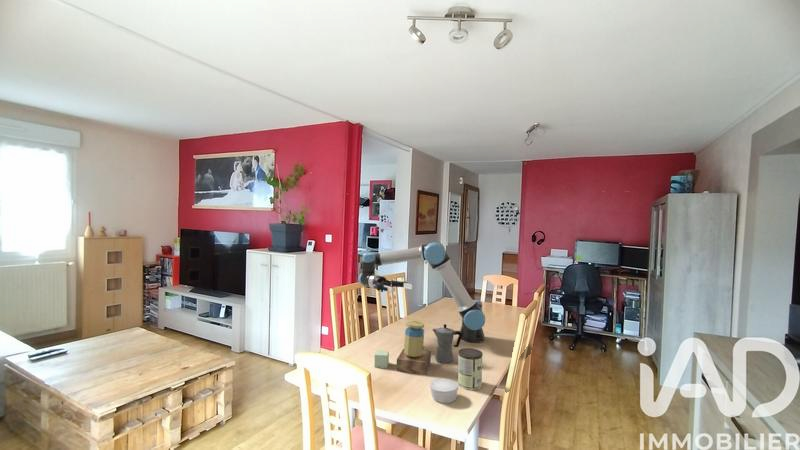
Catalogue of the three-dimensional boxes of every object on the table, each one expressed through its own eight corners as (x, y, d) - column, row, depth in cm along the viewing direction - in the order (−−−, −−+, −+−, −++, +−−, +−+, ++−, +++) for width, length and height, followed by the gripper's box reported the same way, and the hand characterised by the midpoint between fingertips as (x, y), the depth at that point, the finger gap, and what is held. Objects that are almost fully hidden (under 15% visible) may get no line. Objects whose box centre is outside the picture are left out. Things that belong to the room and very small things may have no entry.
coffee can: (461, 377, 156) (461, 346, 156) (484, 382, 152) (484, 350, 152) (454, 387, 147) (455, 354, 147) (479, 392, 143) (479, 358, 142)
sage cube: (388, 362, 171) (388, 350, 170) (386, 368, 165) (387, 355, 165) (376, 362, 171) (376, 350, 171) (374, 367, 165) (374, 354, 165)
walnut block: (430, 363, 172) (430, 351, 172) (426, 375, 158) (426, 362, 158) (403, 360, 175) (403, 348, 175) (396, 371, 161) (396, 359, 161)
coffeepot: (429, 361, 174) (429, 325, 173) (434, 354, 182) (435, 320, 182) (459, 366, 168) (460, 329, 168) (463, 359, 177) (464, 324, 177)
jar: (405, 358, 161) (407, 325, 161) (402, 351, 170) (404, 320, 170) (424, 358, 162) (426, 326, 163) (420, 351, 171) (422, 321, 172)
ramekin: (426, 401, 135) (426, 388, 135) (433, 388, 145) (434, 376, 145) (454, 407, 131) (454, 393, 131) (460, 394, 141) (460, 381, 141)
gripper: (395, 286, 204) (419, 292, 187) (359, 291, 188) (383, 298, 171) (395, 273, 204) (420, 279, 187) (359, 277, 188) (383, 283, 171)
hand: (402, 288), depth 179 cm, fingers open, 13 cm apart
